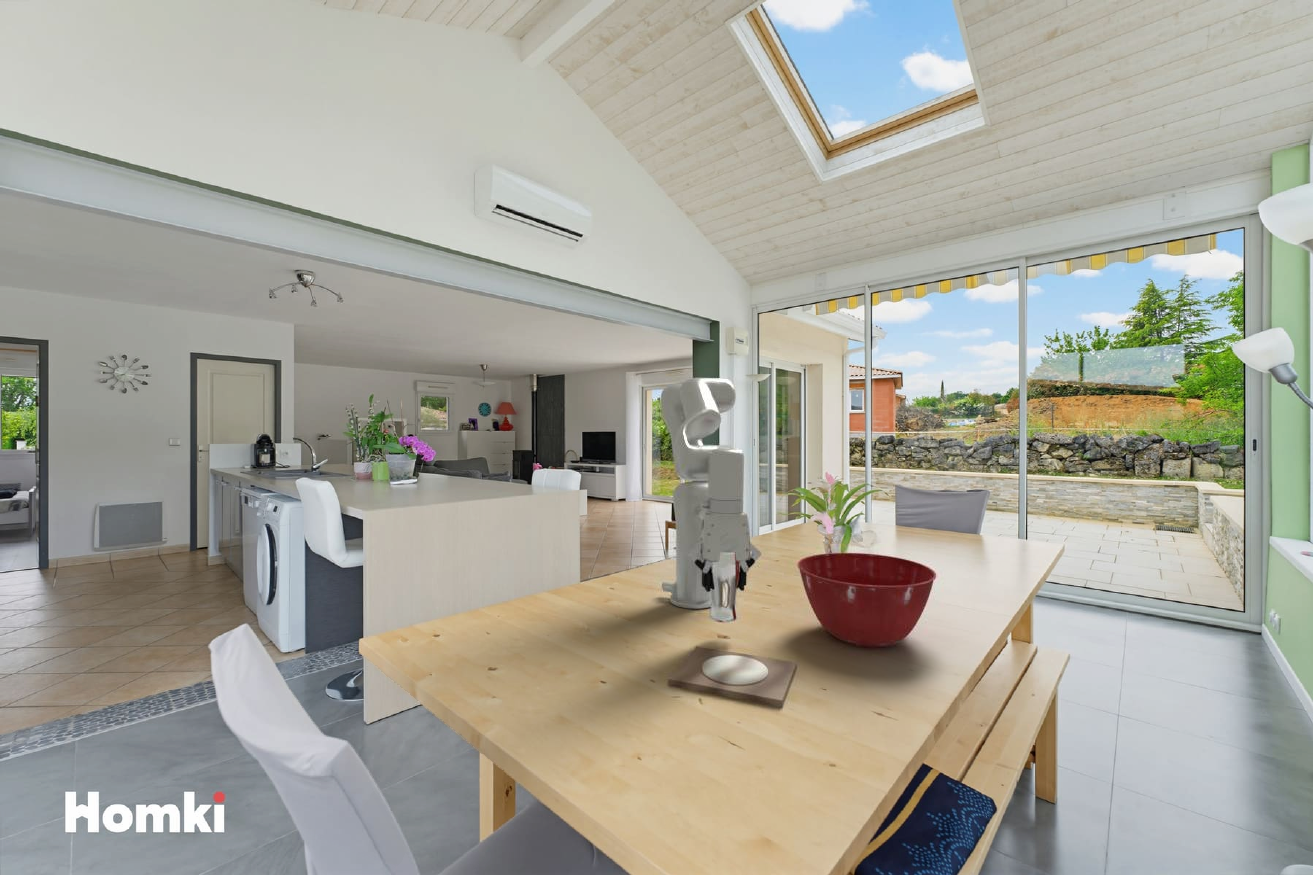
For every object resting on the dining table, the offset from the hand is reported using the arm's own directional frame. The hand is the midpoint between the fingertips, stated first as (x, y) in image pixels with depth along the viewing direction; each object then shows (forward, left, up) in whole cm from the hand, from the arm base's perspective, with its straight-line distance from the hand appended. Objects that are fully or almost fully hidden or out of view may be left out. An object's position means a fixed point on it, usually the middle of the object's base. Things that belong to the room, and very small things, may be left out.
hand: (723, 588), depth 118 cm
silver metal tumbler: (0, 0, -6) cm, 6 cm away
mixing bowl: (+27, +15, -12) cm, 33 cm away
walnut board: (+6, -16, -11) cm, 20 cm away
